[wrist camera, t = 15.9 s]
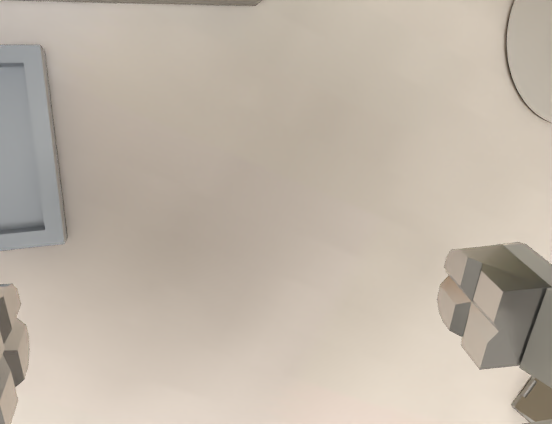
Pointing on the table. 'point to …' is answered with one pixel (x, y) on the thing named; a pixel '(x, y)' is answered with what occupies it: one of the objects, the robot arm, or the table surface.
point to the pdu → (172, 1)
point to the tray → (28, 153)
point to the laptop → (534, 401)
